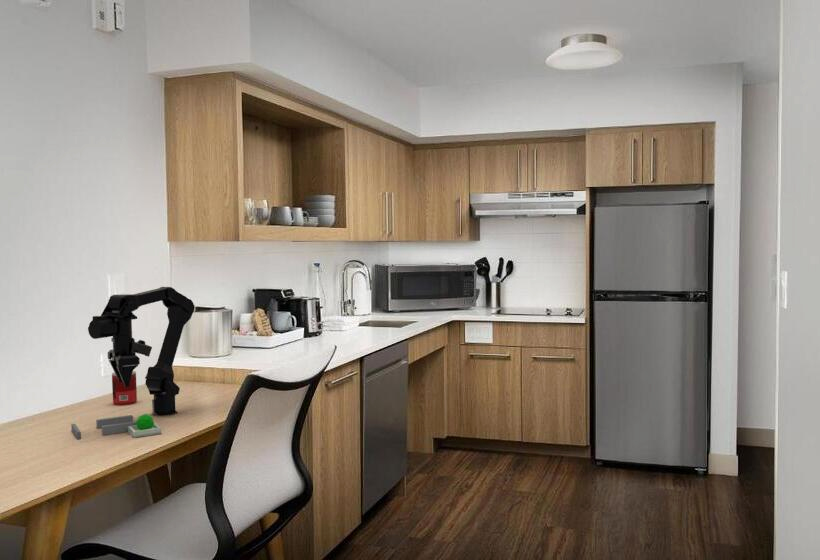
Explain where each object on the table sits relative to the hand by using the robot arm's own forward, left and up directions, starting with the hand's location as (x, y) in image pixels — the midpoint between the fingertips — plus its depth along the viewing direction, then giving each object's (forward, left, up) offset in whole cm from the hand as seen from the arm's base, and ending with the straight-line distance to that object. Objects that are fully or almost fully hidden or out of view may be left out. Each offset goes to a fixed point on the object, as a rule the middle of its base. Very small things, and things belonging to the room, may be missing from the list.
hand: (124, 384), depth 235 cm
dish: (-3, +15, -12) cm, 20 cm away
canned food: (-6, -32, -13) cm, 35 cm away
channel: (+6, +5, -12) cm, 15 cm away
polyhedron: (-3, +15, -12) cm, 19 cm away
